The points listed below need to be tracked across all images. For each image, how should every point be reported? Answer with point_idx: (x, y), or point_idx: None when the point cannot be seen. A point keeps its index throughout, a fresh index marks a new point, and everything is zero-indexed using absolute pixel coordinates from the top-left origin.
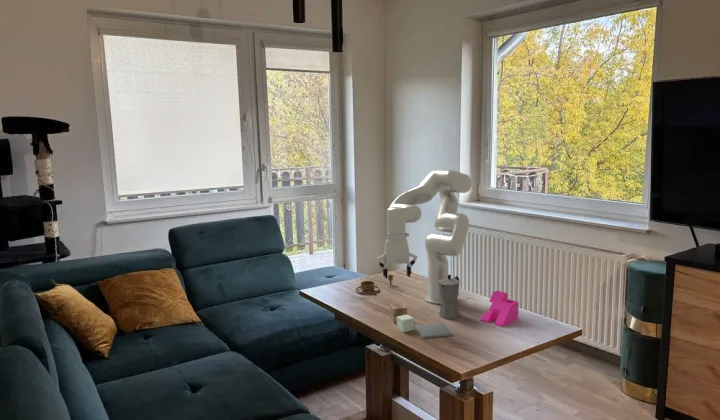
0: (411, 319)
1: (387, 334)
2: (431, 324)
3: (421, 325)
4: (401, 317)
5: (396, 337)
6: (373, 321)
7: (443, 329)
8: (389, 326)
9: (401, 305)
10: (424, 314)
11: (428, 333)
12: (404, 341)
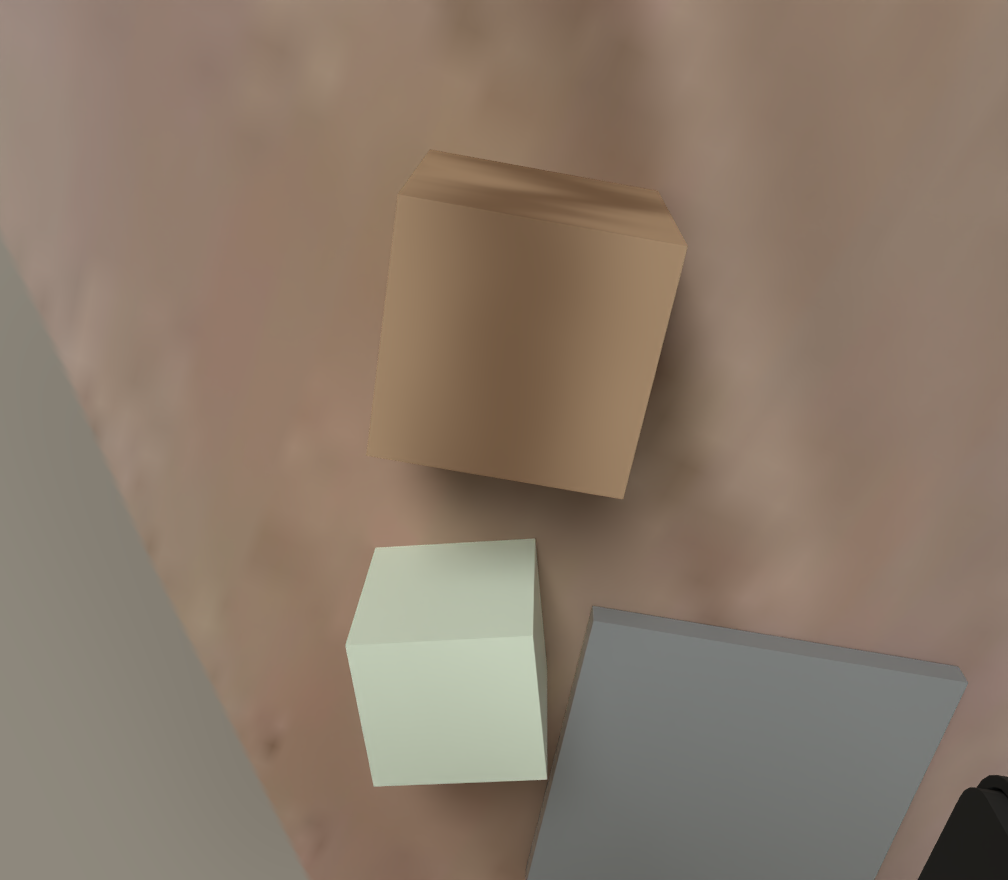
0: (514, 772)
1: (207, 658)
2: (805, 680)
3: (674, 659)
4: (402, 696)
5: (281, 755)
6: (127, 190)
7: (835, 834)
8: (303, 461)
9: (589, 344)
10: (1000, 250)
11: (623, 854)
12: (327, 854)
